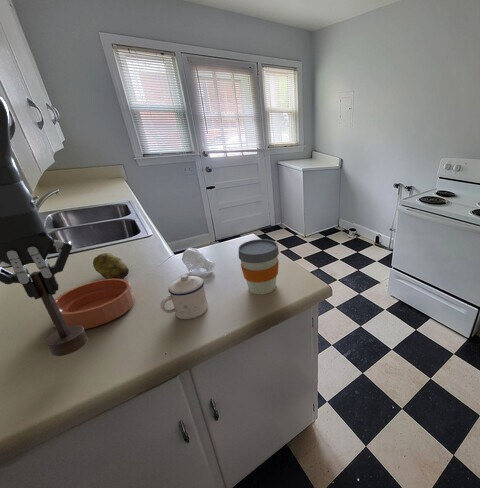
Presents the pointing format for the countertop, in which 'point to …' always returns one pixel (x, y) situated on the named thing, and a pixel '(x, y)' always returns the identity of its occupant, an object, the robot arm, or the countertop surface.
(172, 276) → the countertop surface
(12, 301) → the countertop surface
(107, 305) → the bowl
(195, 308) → the teacup with lid
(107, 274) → the potato
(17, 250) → the robot arm
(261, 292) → the reusable coffee cup
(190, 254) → the crumpled white tissue
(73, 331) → the wooden tamper
